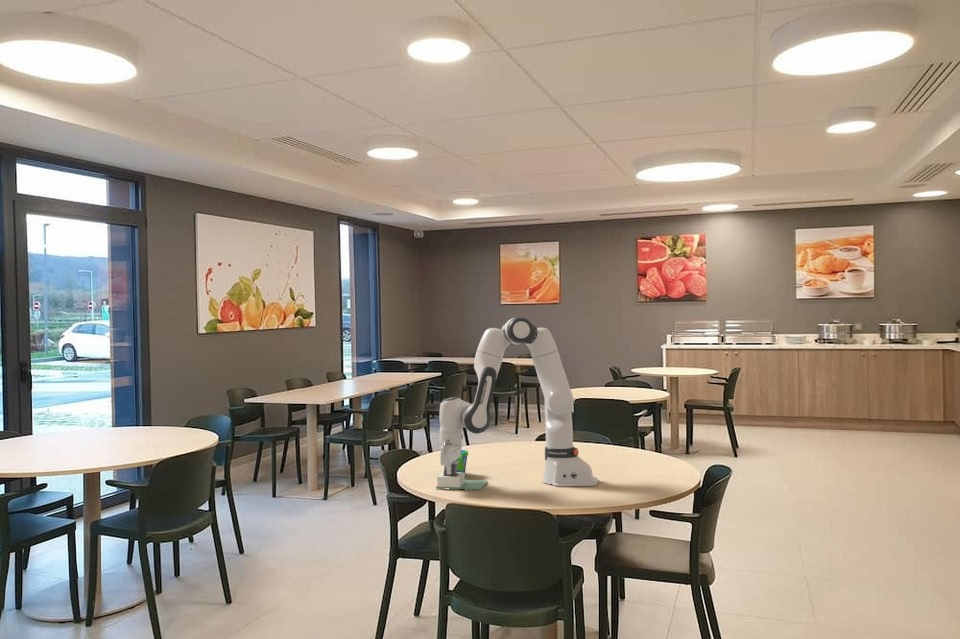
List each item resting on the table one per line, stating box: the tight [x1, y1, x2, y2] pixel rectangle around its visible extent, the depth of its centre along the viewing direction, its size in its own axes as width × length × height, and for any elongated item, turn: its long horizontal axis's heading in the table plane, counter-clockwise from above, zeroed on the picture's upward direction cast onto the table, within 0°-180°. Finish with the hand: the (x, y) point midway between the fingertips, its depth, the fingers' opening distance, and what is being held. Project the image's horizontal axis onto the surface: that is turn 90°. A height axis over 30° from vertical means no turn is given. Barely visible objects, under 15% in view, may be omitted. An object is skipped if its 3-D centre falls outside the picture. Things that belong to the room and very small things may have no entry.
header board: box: [435, 471, 488, 492], centre depth 273 cm, size 18×14×5 cm
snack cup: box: [456, 449, 469, 474], centre depth 293 cm, size 16×10×10 cm
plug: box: [443, 460, 458, 476], centre depth 272 cm, size 5×4×7 cm
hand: (451, 472), depth 272 cm, fingers open, 4 cm apart
